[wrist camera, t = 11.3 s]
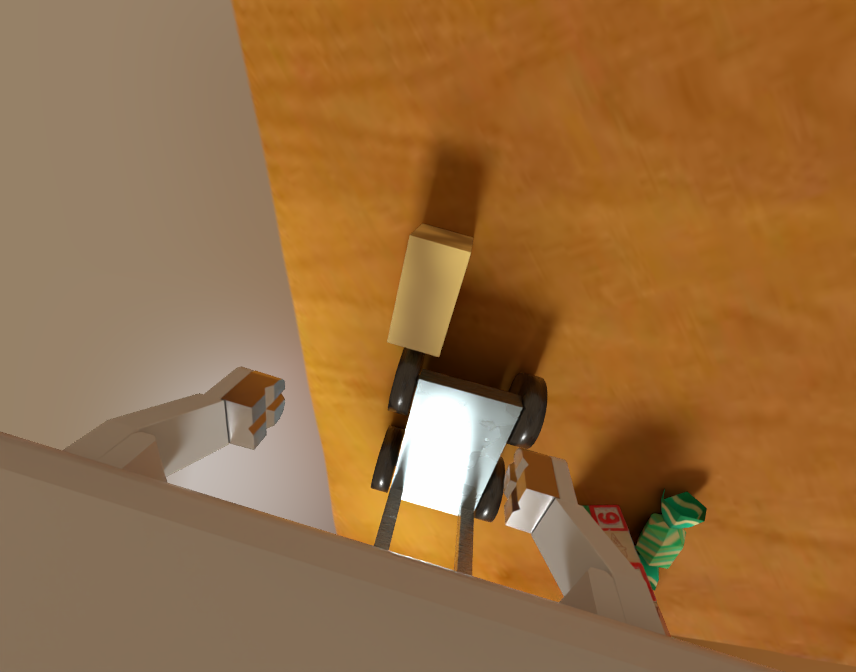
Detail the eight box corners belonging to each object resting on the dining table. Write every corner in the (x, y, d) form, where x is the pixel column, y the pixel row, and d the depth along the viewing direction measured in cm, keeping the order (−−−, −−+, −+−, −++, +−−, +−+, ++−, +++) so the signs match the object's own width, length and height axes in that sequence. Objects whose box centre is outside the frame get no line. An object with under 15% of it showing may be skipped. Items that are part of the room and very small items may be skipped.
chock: (473, 237, 25) (471, 252, 21) (446, 328, 29) (438, 357, 25) (422, 222, 25) (409, 235, 21) (401, 315, 29) (387, 342, 25)
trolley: (485, 482, 37) (486, 789, 19) (384, 453, 37) (288, 728, 19) (540, 364, 29) (632, 691, 11) (412, 329, 29) (297, 591, 11)
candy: (660, 569, 38) (652, 599, 35) (628, 547, 40) (617, 574, 37) (708, 500, 32) (703, 529, 30) (667, 478, 34) (659, 504, 31)
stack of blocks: (615, 611, 44) (657, 756, 33) (565, 608, 46) (590, 746, 35) (618, 502, 35) (678, 652, 24) (556, 503, 37) (587, 645, 26)
